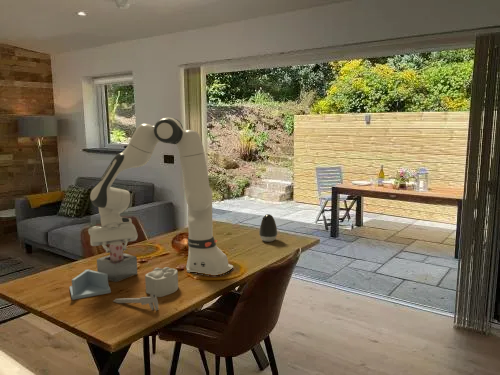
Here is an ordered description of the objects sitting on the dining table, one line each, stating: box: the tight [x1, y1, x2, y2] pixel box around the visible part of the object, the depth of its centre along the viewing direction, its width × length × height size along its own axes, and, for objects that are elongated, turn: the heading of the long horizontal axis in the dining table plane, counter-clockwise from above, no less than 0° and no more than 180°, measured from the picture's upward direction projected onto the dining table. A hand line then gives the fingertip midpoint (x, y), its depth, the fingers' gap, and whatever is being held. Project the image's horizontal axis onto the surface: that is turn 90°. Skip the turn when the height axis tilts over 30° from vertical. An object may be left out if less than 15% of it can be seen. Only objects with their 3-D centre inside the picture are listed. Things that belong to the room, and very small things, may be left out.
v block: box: [69, 269, 112, 301], centre depth 173 cm, size 12×14×7 cm
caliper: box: [112, 294, 159, 311], centre depth 160 cm, size 20×1×6 cm, turn 66°
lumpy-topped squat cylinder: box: [144, 266, 179, 298], centre depth 174 cm, size 10×13×9 cm
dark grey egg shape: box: [258, 213, 278, 243], centre depth 241 cm, size 10×10×15 cm
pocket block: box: [96, 252, 138, 283], centre depth 191 cm, size 12×12×8 cm
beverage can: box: [108, 241, 124, 262], centre depth 190 cm, size 6×6×15 cm
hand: (116, 250), depth 189 cm, fingers closed on beverage can, 6 cm apart
